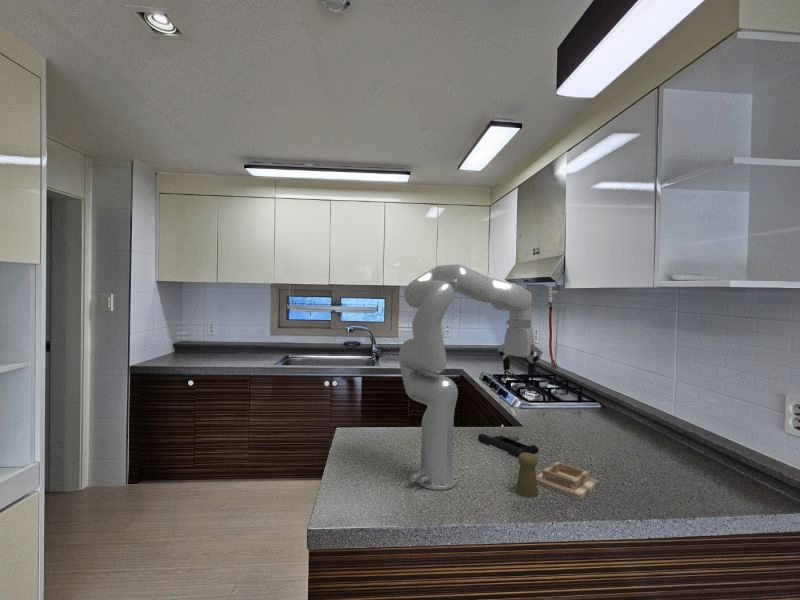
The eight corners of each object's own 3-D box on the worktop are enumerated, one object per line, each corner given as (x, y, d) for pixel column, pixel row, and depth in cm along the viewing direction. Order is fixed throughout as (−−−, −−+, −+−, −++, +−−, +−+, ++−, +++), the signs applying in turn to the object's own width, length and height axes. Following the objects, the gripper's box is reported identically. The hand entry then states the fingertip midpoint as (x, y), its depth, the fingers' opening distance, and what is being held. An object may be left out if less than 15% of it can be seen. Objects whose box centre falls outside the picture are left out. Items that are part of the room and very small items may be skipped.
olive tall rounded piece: (511, 492, 116) (512, 453, 115) (522, 485, 120) (523, 448, 120) (531, 499, 111) (532, 460, 111) (541, 492, 116) (542, 454, 115)
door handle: (503, 429, 164) (475, 433, 154) (547, 444, 147) (518, 451, 138) (503, 437, 164) (475, 442, 154) (546, 453, 147) (518, 460, 138)
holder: (579, 500, 112) (579, 486, 112) (532, 482, 122) (532, 470, 122) (598, 484, 121) (599, 472, 121) (553, 468, 132) (554, 457, 132)
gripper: (493, 323, 149) (492, 369, 150) (537, 326, 137) (536, 377, 137) (504, 322, 155) (502, 367, 155) (547, 326, 142) (546, 374, 143)
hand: (518, 371), depth 146 cm, fingers open, 9 cm apart
